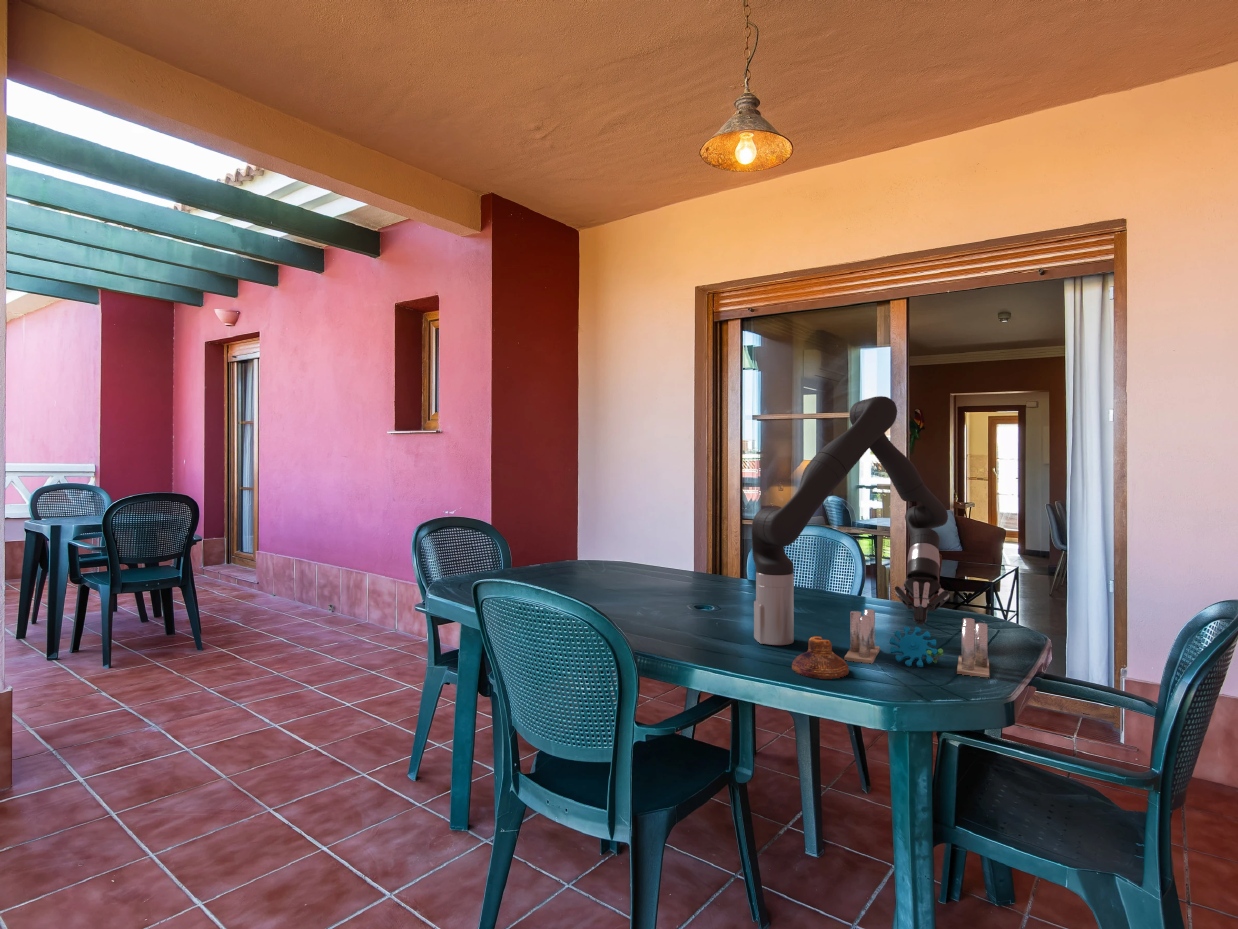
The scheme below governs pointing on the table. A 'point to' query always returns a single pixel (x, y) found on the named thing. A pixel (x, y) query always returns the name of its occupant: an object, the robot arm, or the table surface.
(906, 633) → the gear
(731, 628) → the table surface
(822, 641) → the bell
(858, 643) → the spacers
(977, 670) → the rack
